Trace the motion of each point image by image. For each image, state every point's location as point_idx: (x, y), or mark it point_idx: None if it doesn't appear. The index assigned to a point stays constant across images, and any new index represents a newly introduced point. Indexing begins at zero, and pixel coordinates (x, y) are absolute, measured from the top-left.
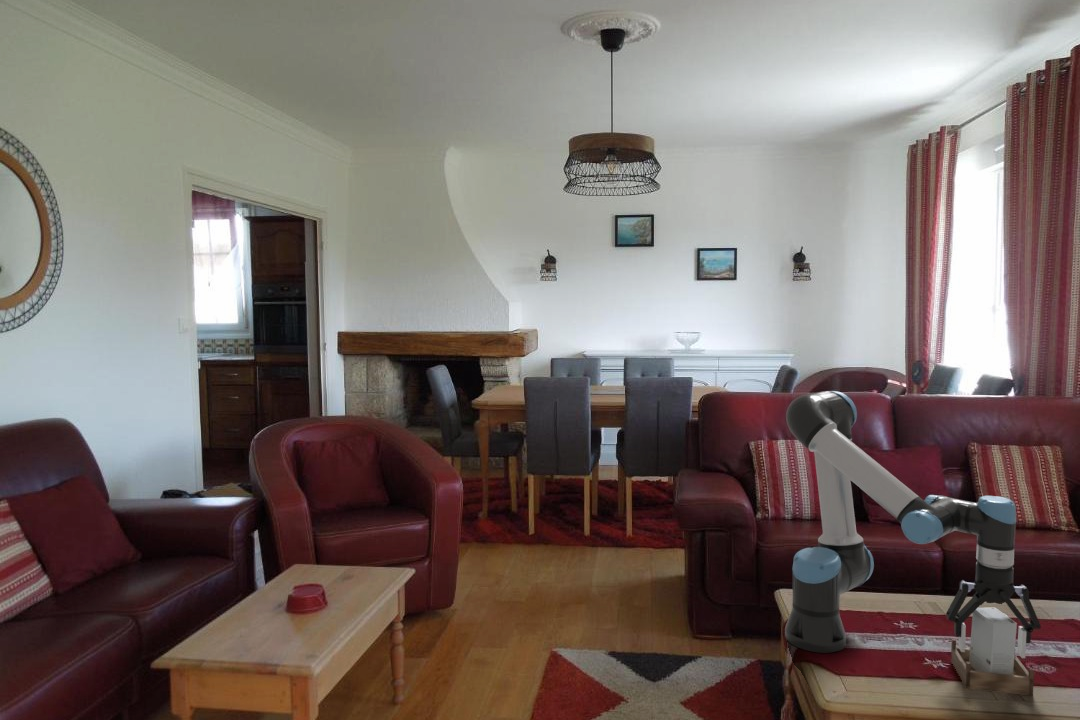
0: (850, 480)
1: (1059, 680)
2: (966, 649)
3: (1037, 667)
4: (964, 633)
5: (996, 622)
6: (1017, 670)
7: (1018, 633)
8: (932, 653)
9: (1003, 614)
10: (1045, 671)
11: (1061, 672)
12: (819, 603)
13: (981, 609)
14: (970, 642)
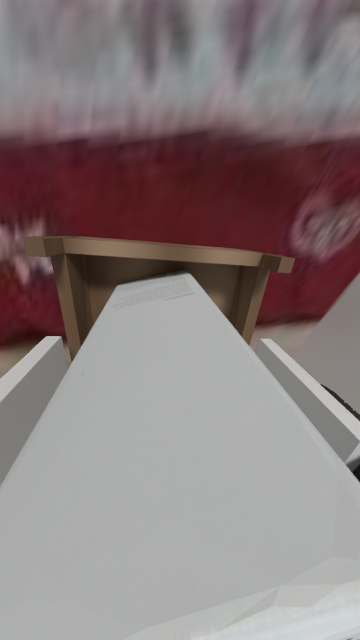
0: None
1: (319, 294)
2: (107, 255)
3: (317, 229)
4: (13, 454)
5: None
6: (235, 315)
7: (316, 401)
8: (12, 166)
9: None
10: (321, 252)
11: (356, 250)
12: None
13: None
14: (98, 317)
